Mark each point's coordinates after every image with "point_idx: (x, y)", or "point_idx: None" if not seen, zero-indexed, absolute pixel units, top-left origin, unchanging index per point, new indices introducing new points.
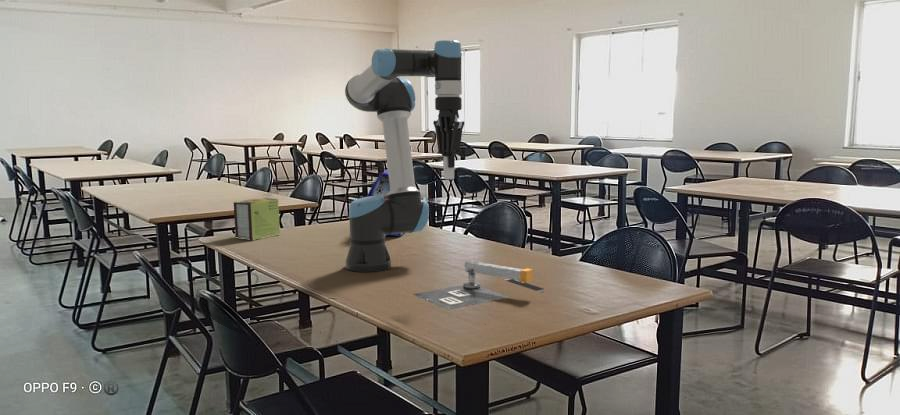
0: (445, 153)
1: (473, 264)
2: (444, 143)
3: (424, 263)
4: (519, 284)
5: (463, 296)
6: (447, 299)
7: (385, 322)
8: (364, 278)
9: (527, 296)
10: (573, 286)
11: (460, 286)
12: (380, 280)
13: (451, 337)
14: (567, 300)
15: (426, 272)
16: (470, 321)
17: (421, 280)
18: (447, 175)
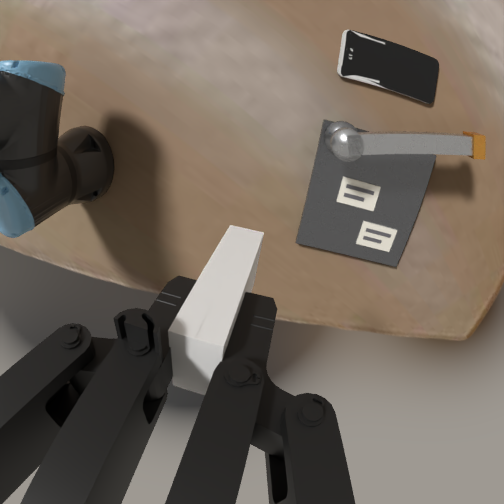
0: (162, 394)
1: (360, 155)
2: (127, 479)
3: (112, 69)
4: (387, 57)
5: (375, 202)
6: (368, 235)
7: (349, 328)
8: (140, 210)
9: (436, 107)
10: (445, 8)
11: (322, 150)
12: (164, 200)
13: (440, 316)
14: (489, 95)
15: (166, 103)
16: (435, 267)
17: (209, 148)
18: (250, 290)
